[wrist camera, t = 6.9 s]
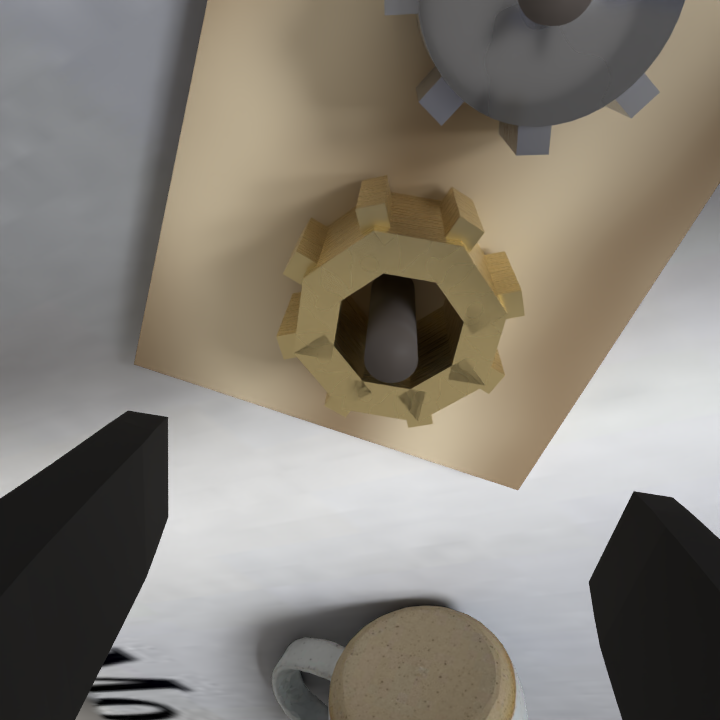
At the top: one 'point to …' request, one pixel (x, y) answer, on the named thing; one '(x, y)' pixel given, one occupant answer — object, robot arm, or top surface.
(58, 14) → the top surface
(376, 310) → the gear board
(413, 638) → the ceramic mug
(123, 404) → the top surface
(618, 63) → the steel gear
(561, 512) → the top surface
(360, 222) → the brass gear
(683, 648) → the robot arm
